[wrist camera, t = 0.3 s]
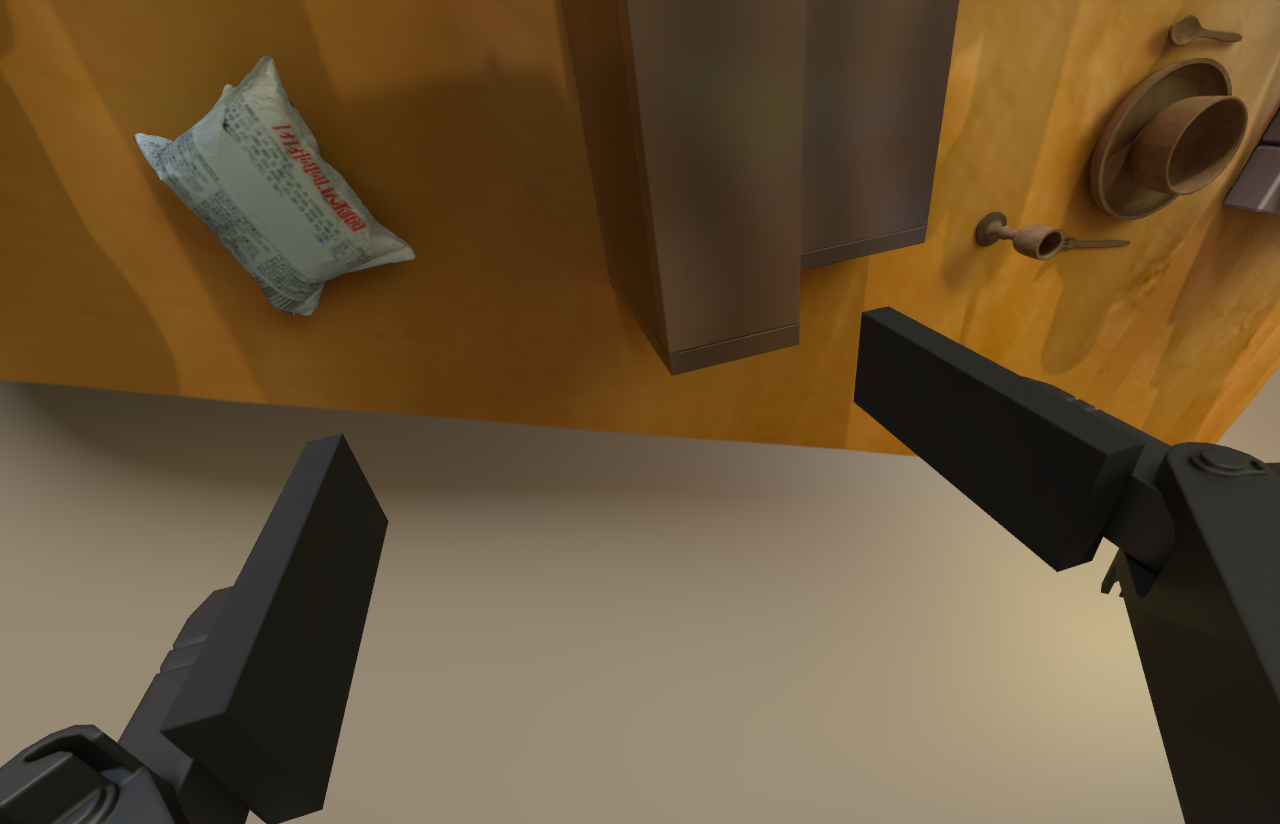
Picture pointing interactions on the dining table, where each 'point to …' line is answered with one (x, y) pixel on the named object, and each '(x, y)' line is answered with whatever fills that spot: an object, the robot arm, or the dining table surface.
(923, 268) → the dining table surface
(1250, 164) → the miniature tower
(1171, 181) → the place setting
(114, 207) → the dining table surface
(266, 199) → the packaged food
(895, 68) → the stepped stand
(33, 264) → the dining table surface
